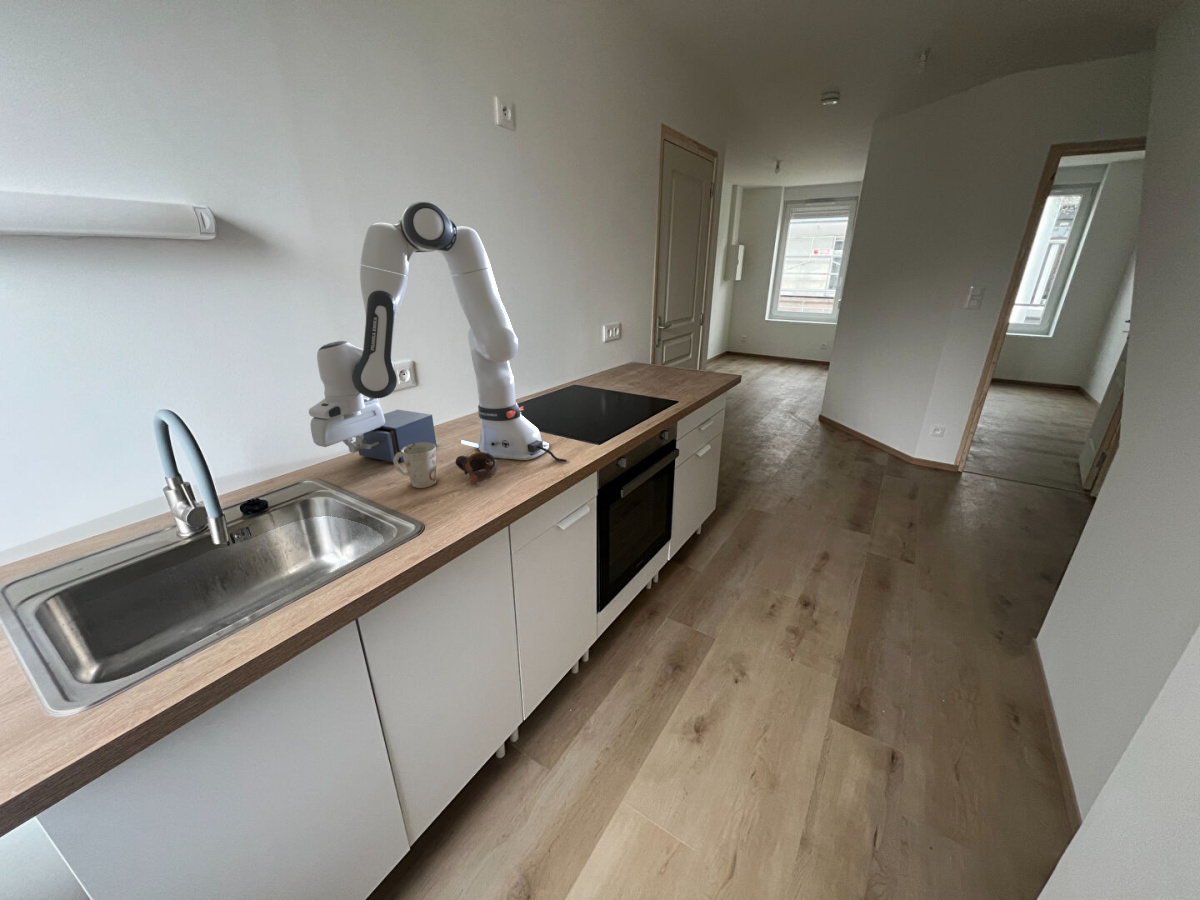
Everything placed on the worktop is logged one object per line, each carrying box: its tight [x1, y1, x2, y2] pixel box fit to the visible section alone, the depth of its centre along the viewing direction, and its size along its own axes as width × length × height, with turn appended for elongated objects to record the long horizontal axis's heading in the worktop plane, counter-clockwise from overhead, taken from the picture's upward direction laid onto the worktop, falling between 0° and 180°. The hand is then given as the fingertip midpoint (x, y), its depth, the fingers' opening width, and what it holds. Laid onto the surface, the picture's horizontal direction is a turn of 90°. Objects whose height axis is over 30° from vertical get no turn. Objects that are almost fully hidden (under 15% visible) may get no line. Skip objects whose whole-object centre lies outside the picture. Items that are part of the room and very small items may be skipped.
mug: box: [392, 443, 437, 489], centre depth 118 cm, size 8×13×10 cm, turn 78°
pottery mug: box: [455, 451, 500, 486], centre depth 122 cm, size 12×10×8 cm
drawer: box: [351, 428, 398, 463], centre depth 136 cm, size 18×13×9 cm
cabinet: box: [380, 409, 438, 463], centre depth 140 cm, size 15×15×11 cm
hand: (356, 450), depth 127 cm, fingers closed
